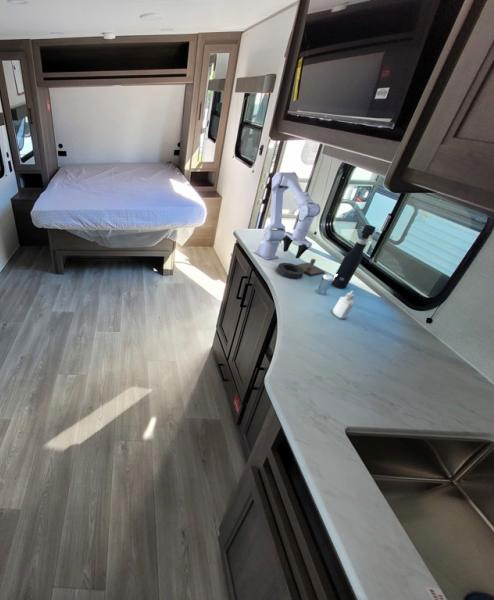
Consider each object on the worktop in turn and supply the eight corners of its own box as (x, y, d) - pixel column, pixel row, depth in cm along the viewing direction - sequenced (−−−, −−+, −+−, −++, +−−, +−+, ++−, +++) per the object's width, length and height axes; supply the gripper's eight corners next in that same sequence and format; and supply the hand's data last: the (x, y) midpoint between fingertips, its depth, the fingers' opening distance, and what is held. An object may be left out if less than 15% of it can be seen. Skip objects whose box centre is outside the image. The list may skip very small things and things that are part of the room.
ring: (271, 269, 160) (273, 264, 158) (288, 266, 164) (290, 261, 162) (289, 280, 151) (292, 275, 150) (307, 276, 155) (309, 272, 153)
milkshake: (330, 295, 141) (340, 276, 136) (318, 294, 141) (328, 276, 136) (324, 290, 145) (334, 271, 139) (313, 289, 145) (322, 271, 139)
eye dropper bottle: (333, 317, 128) (347, 293, 121) (331, 309, 132) (345, 286, 125) (345, 320, 126) (360, 296, 119) (343, 312, 130) (357, 289, 124)
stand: (294, 267, 163) (298, 256, 160) (307, 264, 166) (312, 254, 163) (310, 276, 156) (315, 265, 152) (323, 273, 159) (329, 262, 155)
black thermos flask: (341, 282, 152) (373, 224, 135) (348, 289, 147) (382, 230, 129) (328, 281, 152) (358, 223, 135) (334, 288, 147) (367, 228, 130)
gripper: (283, 224, 151) (274, 249, 159) (308, 235, 140) (297, 262, 148) (294, 223, 154) (284, 247, 161) (319, 234, 143) (307, 260, 151)
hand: (291, 254), depth 155 cm, fingers open, 7 cm apart
